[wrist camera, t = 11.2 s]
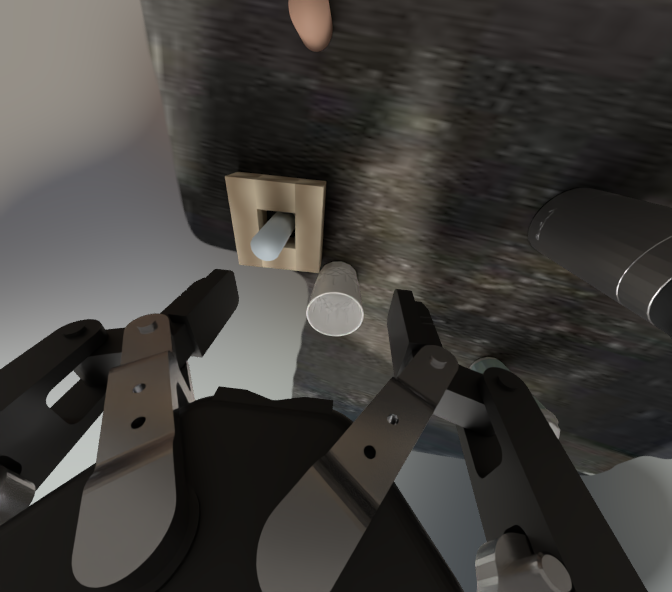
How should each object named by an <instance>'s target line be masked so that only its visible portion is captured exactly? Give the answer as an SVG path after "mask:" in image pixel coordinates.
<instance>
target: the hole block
mask: <svg viewBox="0 0 672 592" xmlns="http://www.w3.org/2000/svg"><path fill="white" fill-rule="evenodd" d="M225 180H226V186H227V192H228V198H229V204H230V210H231V217H232V223H233V229H234V235H235V241H236V247H237V253H238V259H239V265H248V266H257V267H268V268H277V269H286V270H296V271H306V272H315V273H319V270H320V266H321V261H322V245H323V229H324V212H325V196H326V181H319V180H310V179H301V178H292V177H282V176H273V175H264V174H255V173H245V172H236V173H233V174H230V175H227V176H225ZM267 210H270V211H280V212H289V213H295V238H292V237H289V239H288V240H287V242H286V244H285V246H284V247H283V249H282V251H281V252H280V254H279V256H278V257H277V258H276V259H275V260H272V261H264V260H261V259H259V258H258V257H257V256H255V254H254V253H253V252H252V249H251V240H252V238H253V237H254V236H255V235H256V234H257V233H258V232H259V231H260V229H261V228H262V227H263V226H264V225H265V224H266V223H267Z"/></svg>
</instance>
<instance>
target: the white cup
mask: <svg viewBox="0 0 672 592" xmlns="http://www.w3.org/2000/svg"><path fill="white" fill-rule="evenodd" d="M306 315H307V319H308V321H309V323H310V325H311V326H312V327H313V328H314V329H316V330H317V331H319V332H320V333H323V334H326V335H330V336H343V335H347V334H349V333H352V332H353V331H355V330H356V329H357V328H358V327H359V326H360V325H361V323H362V321H363V317H364V313H363V306H362V299H361V291H360V286H359V282H358V278H357V274H356V271H355V270H354V269H353V268H352V266H351V265H349V264H347V263H344V262H342V261H338V262H331V263H328V264H326V265H324V267H323V268H322V269H321V270H320V272H319V275H318V278H317V280H316V282H315V285H314V288H313V291H312V294H311V297H310V301H309V304H308V307H307V311H306Z"/></svg>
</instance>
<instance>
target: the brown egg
mask: <svg viewBox="0 0 672 592" xmlns="http://www.w3.org/2000/svg"><path fill="white" fill-rule="evenodd" d="M289 12H290V17H291V20H292V22H293V24H294V26H295V28H296V30H297V32H298V33H299V35H300V37H301V39H302V41H303V43H304V44H305V46H306V47H307V48H308V49H309V50H311V51H314V52H319V51H322V50H324V49H325V48H326V47H327V46H328V44H329V42H330V40H331V37H332V31H333V25H332V18H331V12H330V6H329V0H289Z"/></svg>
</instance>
